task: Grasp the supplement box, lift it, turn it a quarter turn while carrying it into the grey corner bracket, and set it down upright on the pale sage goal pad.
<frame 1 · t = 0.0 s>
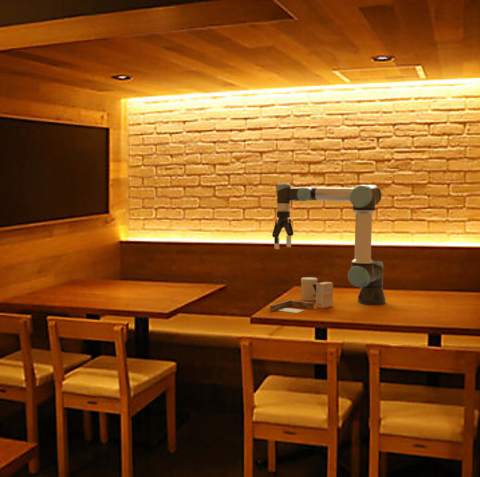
hand: (282, 247, 390), 28 cm above the table, fingers open, 13 cm apart
coffee cup: (308, 299, 384), on the table
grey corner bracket: (292, 310, 353), on the table
goal pad: (290, 310, 352), on the table
supplement box: (324, 307, 362), on the table
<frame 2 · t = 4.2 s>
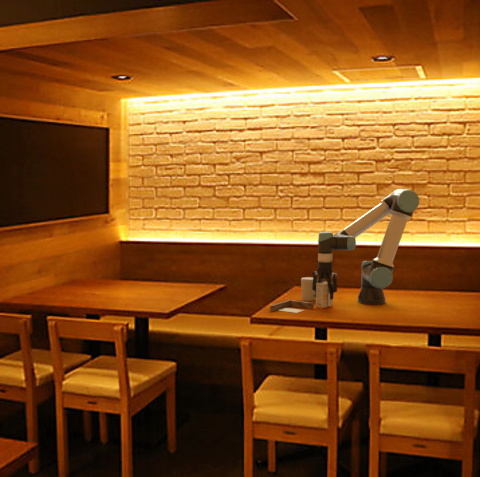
hand: (324, 304, 362), 1 cm above the table, fingers closed on supplement box, 6 cm apart
supplement box: (324, 307, 362), on the table, touching gripper
everything else where it was.
when the fingers open (3 cm above the table, at t = 9.2 s): supplement box drops 2 cm, resting on goal pad.
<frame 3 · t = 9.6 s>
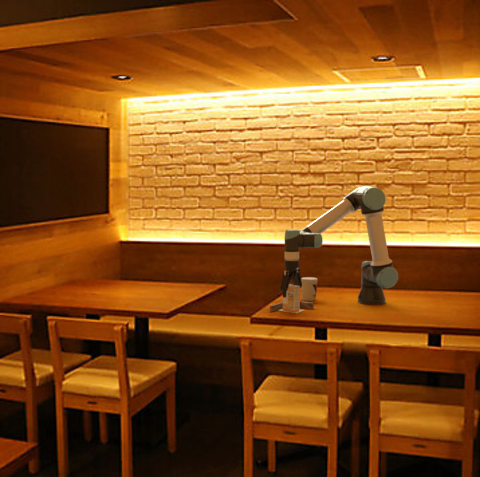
hand: (291, 301, 351), 5 cm above the table, fingers open, 11 cm apart
supplement box: (290, 310, 352), resting on goal pad
everything else where it was.
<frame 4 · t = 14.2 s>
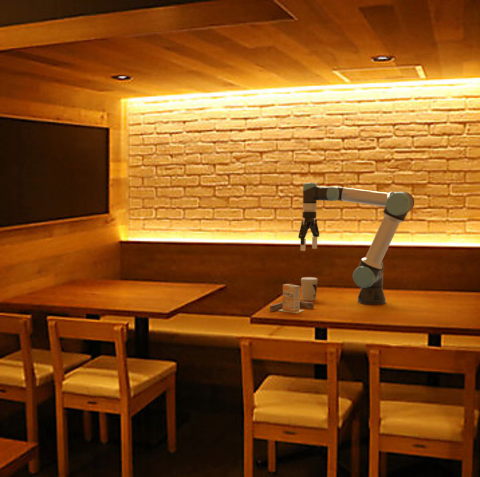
hand: (308, 249, 376), 29 cm above the table, fingers open, 13 cm apart
nothing on the table moved.
at the end: supplement box inside the target area on the goal pad (0.0 cm from its centre), point 0.1 cm above the goal pad's base; supplement box tilted 0°; the gripper is holding nothing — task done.
